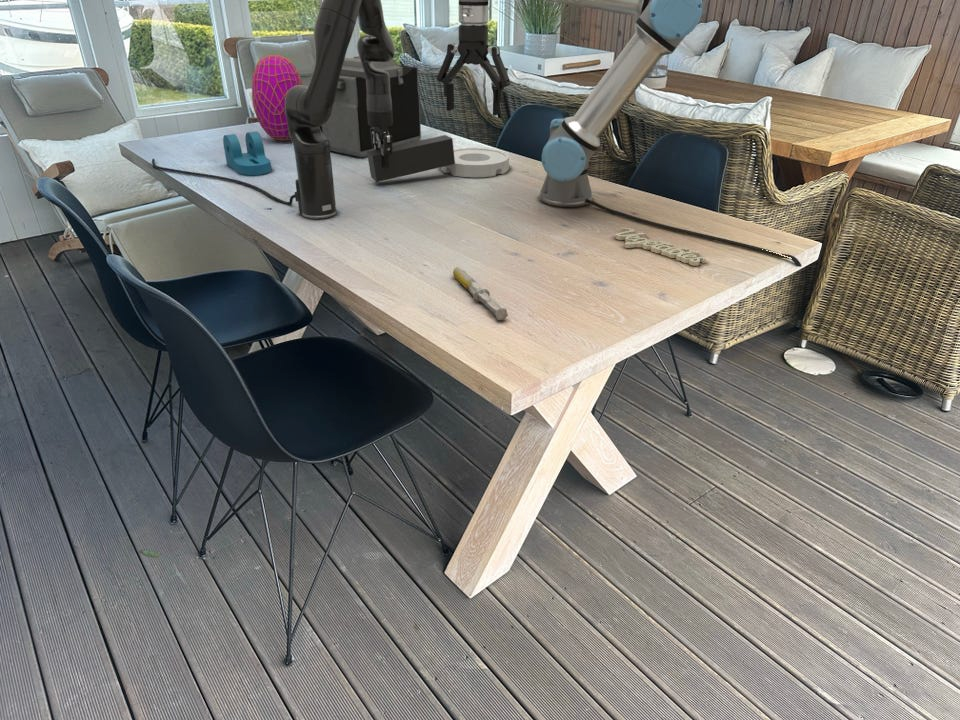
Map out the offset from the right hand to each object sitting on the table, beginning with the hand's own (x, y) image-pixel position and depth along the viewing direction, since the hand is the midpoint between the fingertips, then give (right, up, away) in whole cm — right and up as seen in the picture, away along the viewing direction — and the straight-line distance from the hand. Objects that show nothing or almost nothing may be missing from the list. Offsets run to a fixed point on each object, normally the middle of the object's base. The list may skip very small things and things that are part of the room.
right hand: (472, 112), depth 183 cm
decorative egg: (-74, +19, +81) cm, 111 cm away
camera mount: (-75, -2, +46) cm, 88 cm away
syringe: (+2, -53, -38) cm, 65 cm away
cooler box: (-39, +14, +75) cm, 86 cm away
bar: (-19, -6, +35) cm, 41 cm away
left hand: (-28, -6, +30) cm, 41 cm away
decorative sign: (+45, -39, -14) cm, 61 cm away
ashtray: (0, -1, +49) cm, 49 cm away
